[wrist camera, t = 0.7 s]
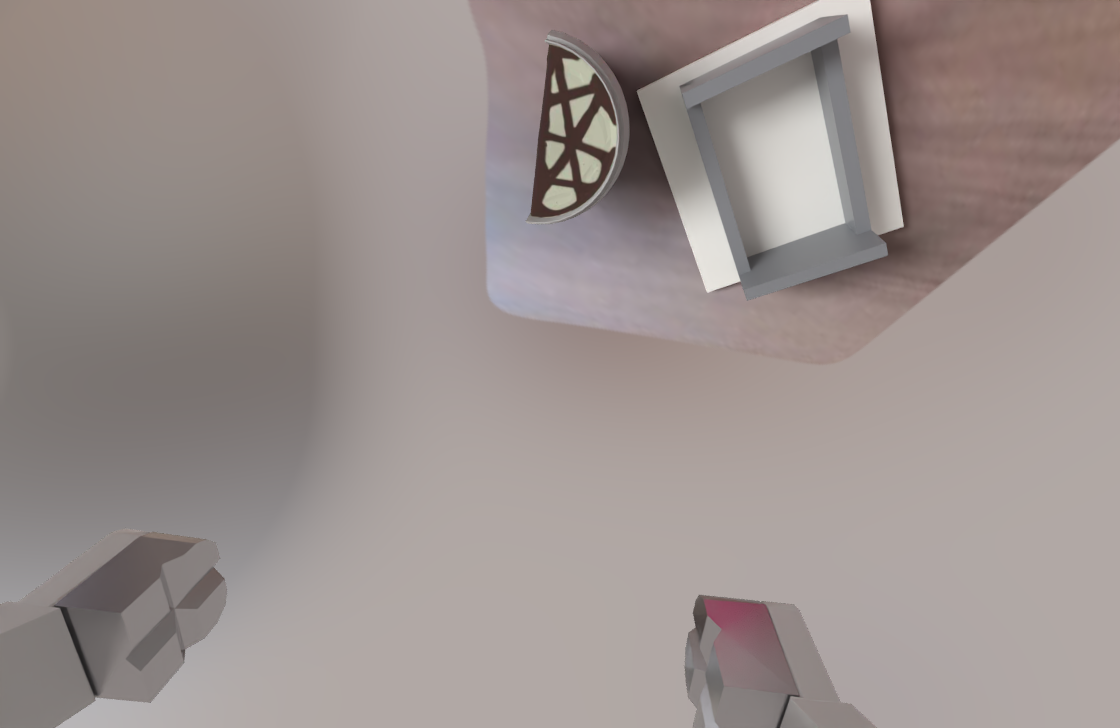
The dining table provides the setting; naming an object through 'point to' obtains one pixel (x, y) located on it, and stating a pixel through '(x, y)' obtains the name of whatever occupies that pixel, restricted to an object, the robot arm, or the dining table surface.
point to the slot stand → (781, 150)
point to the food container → (577, 132)
